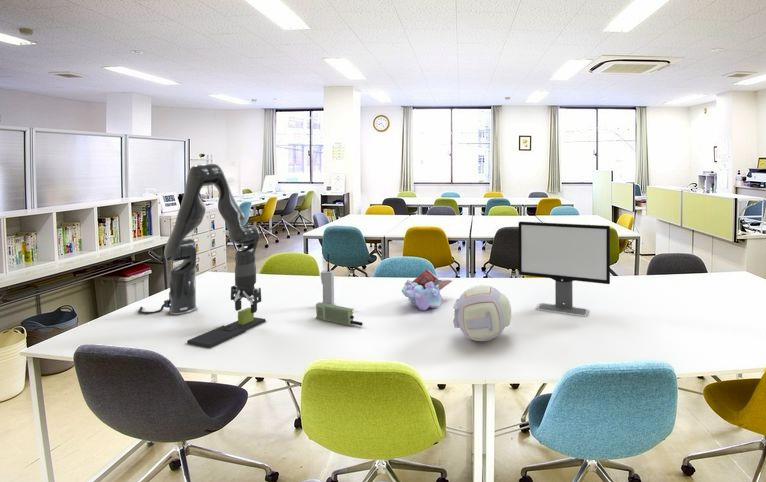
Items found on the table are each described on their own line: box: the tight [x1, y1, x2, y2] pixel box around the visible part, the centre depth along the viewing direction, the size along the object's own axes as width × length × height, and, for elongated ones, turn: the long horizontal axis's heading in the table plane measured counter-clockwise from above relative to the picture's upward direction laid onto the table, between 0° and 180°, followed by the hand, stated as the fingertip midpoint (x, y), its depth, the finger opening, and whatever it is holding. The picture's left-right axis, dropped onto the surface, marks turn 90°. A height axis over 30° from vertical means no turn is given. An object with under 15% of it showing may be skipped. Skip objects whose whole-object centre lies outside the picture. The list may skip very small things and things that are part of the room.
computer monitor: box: [518, 221, 611, 317], centre depth 168 cm, size 41×8×40 cm, turn 68°
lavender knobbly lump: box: [401, 269, 454, 311], centre depth 176 cm, size 20×22×18 cm
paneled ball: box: [452, 284, 512, 342], centre depth 140 cm, size 21×22×20 cm
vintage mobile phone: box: [320, 253, 335, 305], centre depth 174 cm, size 4×5×25 cm
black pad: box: [224, 307, 266, 332], centre depth 152 cm, size 10×13×6 cm
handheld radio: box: [315, 302, 363, 327], centre depth 156 cm, size 7×3×25 cm
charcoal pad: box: [186, 324, 246, 349], centre depth 142 cm, size 12×14×1 cm
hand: (246, 311), depth 154 cm, fingers open, 8 cm apart
